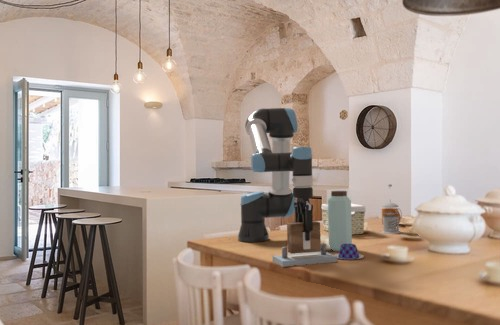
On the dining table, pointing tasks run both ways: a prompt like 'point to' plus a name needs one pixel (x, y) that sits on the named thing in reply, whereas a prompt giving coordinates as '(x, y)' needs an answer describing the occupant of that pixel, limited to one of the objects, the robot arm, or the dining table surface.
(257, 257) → the dining table surface
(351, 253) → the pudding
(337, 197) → the water bottle
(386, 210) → the glass coffee carafe
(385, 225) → the french press
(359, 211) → the storage basket
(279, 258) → the light blue peg stand
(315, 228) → the wooden block
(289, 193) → the robot arm
